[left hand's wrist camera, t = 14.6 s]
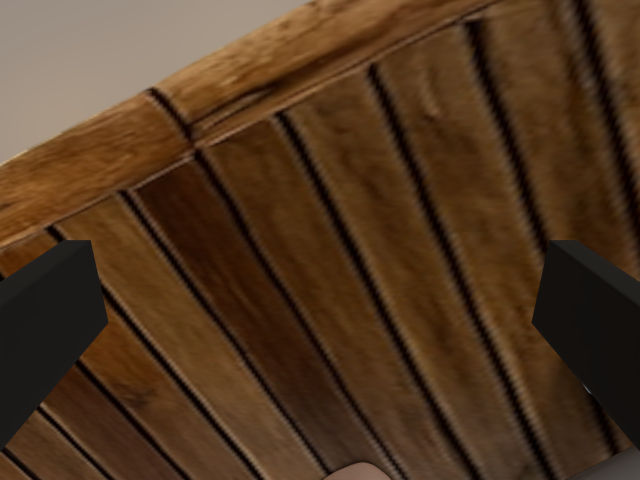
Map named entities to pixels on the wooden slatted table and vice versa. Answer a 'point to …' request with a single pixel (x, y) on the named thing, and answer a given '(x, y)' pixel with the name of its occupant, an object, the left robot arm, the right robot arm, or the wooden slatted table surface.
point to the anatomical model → (358, 473)
